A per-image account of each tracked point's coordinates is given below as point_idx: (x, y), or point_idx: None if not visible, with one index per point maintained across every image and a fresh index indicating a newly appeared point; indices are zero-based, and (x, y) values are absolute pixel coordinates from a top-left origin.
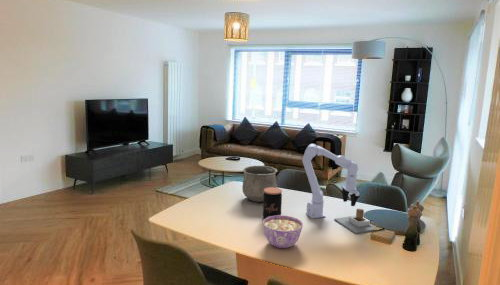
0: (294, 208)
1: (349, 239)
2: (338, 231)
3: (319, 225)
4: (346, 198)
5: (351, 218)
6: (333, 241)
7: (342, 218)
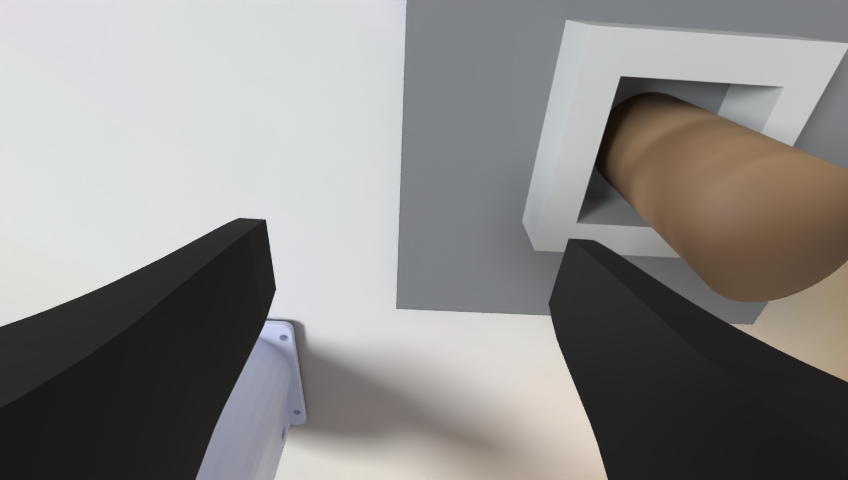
0: None
1: None
2: None
3: (443, 431)
4: (229, 287)
5: None
6: None
7: (426, 234)
